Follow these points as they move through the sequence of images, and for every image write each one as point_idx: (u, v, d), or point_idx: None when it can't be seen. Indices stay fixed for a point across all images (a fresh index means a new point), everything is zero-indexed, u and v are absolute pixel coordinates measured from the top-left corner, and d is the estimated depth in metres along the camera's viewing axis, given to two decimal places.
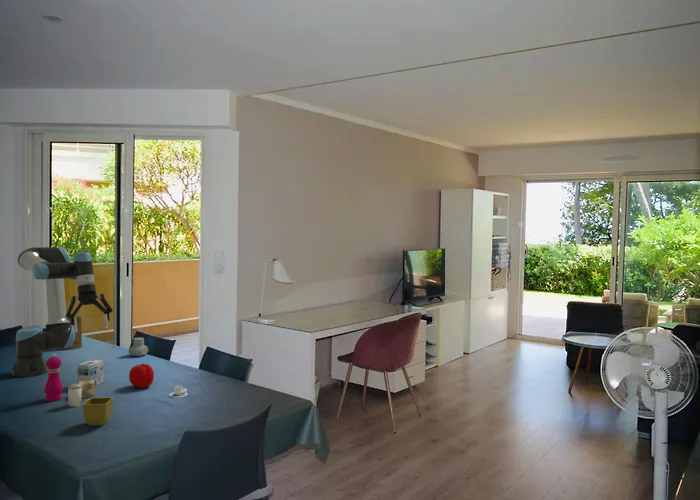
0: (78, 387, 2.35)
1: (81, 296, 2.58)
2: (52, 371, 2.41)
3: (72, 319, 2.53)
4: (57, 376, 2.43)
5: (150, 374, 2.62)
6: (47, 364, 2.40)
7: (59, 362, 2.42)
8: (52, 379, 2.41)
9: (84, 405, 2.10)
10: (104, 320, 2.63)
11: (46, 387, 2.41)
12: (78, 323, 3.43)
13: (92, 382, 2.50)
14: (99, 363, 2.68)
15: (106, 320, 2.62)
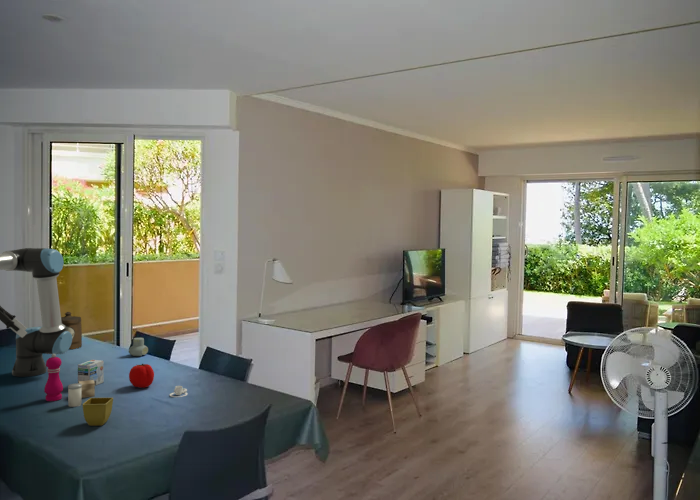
0: (78, 387, 2.35)
1: None
2: (52, 371, 2.41)
3: None
4: (57, 376, 2.43)
5: (150, 374, 2.62)
6: (47, 364, 2.40)
7: (59, 362, 2.42)
8: (52, 379, 2.41)
9: (84, 405, 2.10)
10: None
11: (46, 387, 2.41)
12: (78, 323, 3.43)
13: (92, 382, 2.50)
14: (99, 363, 2.68)
15: (15, 332, 2.30)
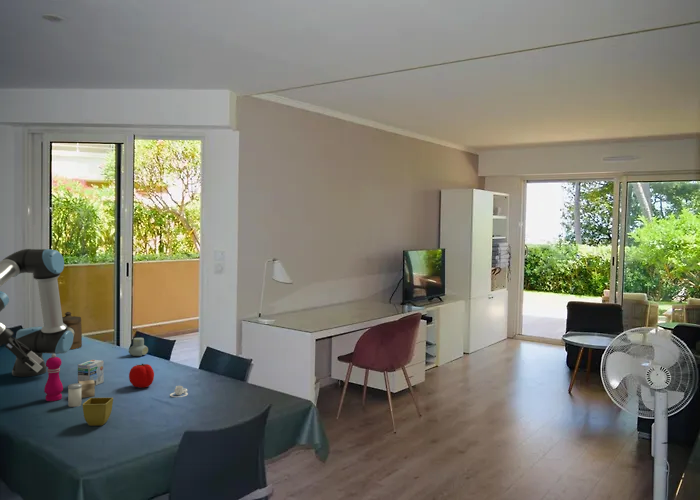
0: (78, 387, 2.35)
1: None
2: (52, 371, 2.41)
3: None
4: (57, 376, 2.43)
5: (150, 374, 2.62)
6: (47, 364, 2.40)
7: (59, 362, 2.42)
8: (52, 379, 2.41)
9: (84, 405, 2.10)
10: None
11: (46, 387, 2.41)
12: (78, 323, 3.43)
13: (92, 382, 2.50)
14: (99, 363, 2.68)
15: (30, 367, 2.32)
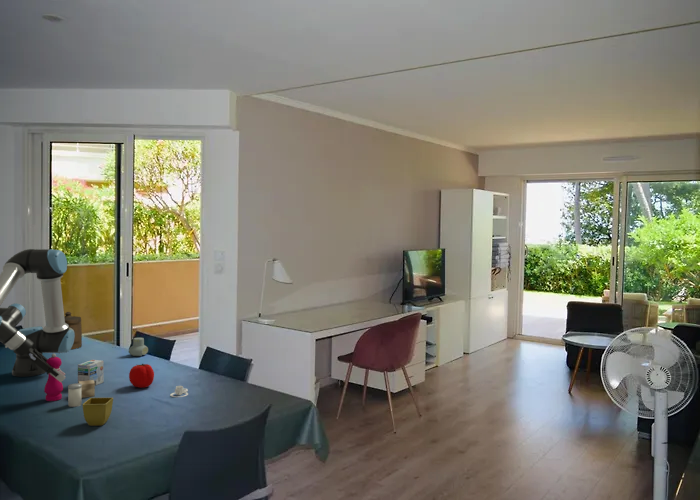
0: (78, 387, 2.35)
1: None
2: None
3: None
4: None
5: (150, 374, 2.62)
6: None
7: (59, 362, 2.42)
8: (52, 379, 2.41)
9: (84, 405, 2.10)
10: None
11: (46, 387, 2.41)
12: (78, 323, 3.43)
13: (92, 382, 2.50)
14: (99, 363, 2.68)
15: None
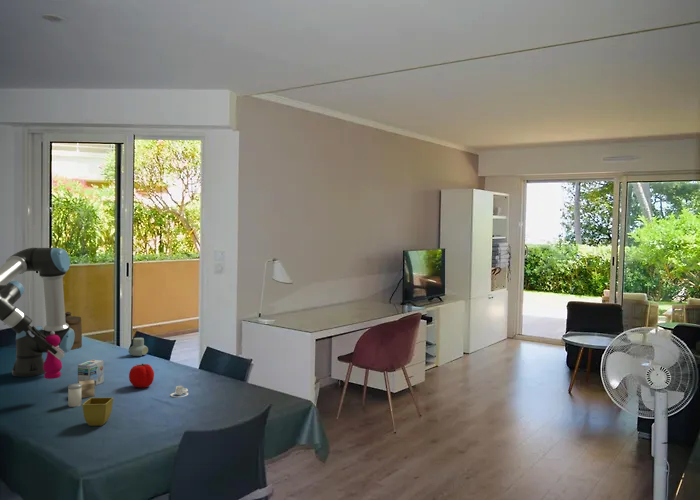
0: (78, 387, 2.35)
1: None
2: None
3: None
4: None
5: (150, 374, 2.62)
6: None
7: (58, 340, 2.41)
8: (51, 357, 2.40)
9: (84, 405, 2.10)
10: None
11: (45, 365, 2.39)
12: (78, 323, 3.43)
13: (92, 382, 2.50)
14: (99, 363, 2.68)
15: (53, 354, 2.39)
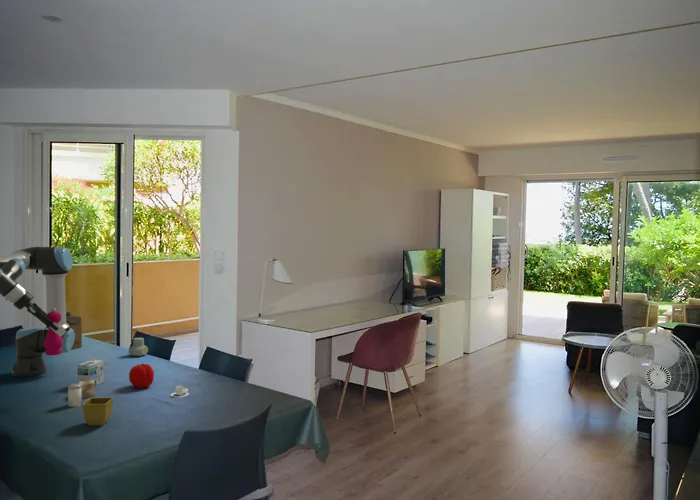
0: (78, 387, 2.35)
1: None
2: None
3: None
4: None
5: (150, 374, 2.62)
6: None
7: (59, 316, 2.42)
8: (52, 333, 2.40)
9: (84, 405, 2.10)
10: None
11: (46, 341, 2.40)
12: (78, 323, 3.43)
13: (92, 382, 2.50)
14: (99, 363, 2.68)
15: (54, 331, 2.40)
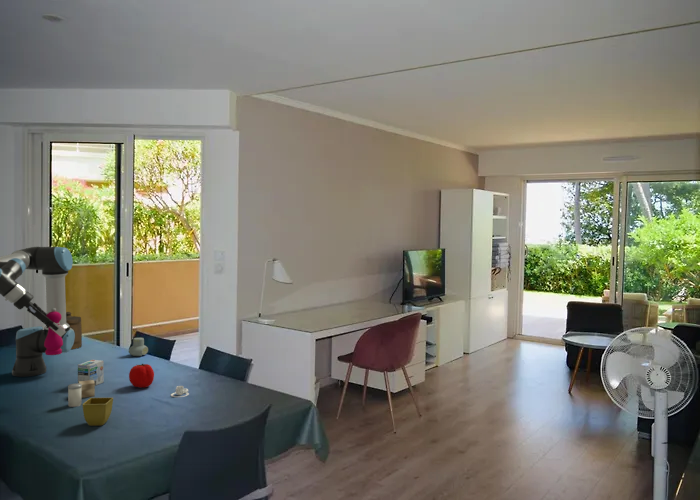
0: (78, 387, 2.35)
1: None
2: None
3: None
4: None
5: (150, 374, 2.62)
6: None
7: (59, 316, 2.42)
8: (52, 333, 2.40)
9: (84, 405, 2.10)
10: None
11: (46, 341, 2.40)
12: (78, 323, 3.43)
13: (92, 382, 2.50)
14: (99, 363, 2.68)
15: None
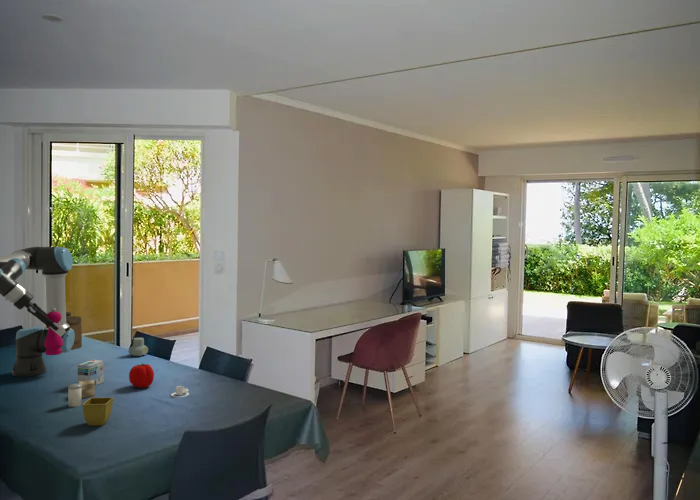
0: (78, 387, 2.35)
1: None
2: None
3: None
4: None
5: (150, 374, 2.62)
6: None
7: (59, 316, 2.42)
8: (52, 333, 2.40)
9: (84, 405, 2.10)
10: None
11: (46, 341, 2.40)
12: (78, 323, 3.43)
13: (92, 382, 2.50)
14: (99, 363, 2.67)
15: None
